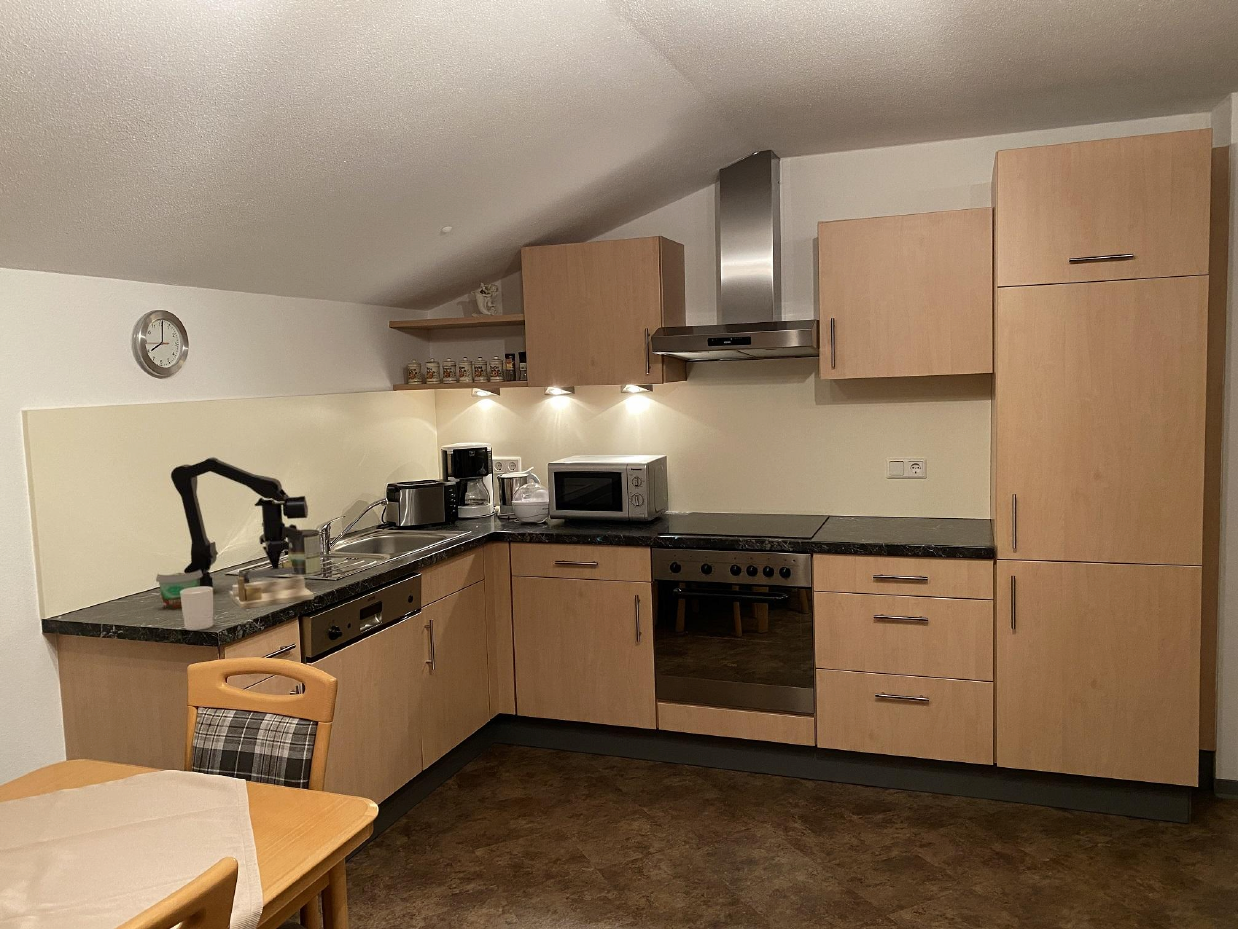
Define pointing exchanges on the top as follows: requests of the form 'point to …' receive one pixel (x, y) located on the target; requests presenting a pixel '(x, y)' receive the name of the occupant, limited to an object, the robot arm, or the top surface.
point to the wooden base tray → (269, 592)
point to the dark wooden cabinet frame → (268, 571)
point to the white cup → (197, 607)
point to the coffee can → (305, 554)
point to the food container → (176, 587)
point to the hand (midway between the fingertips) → (275, 569)
